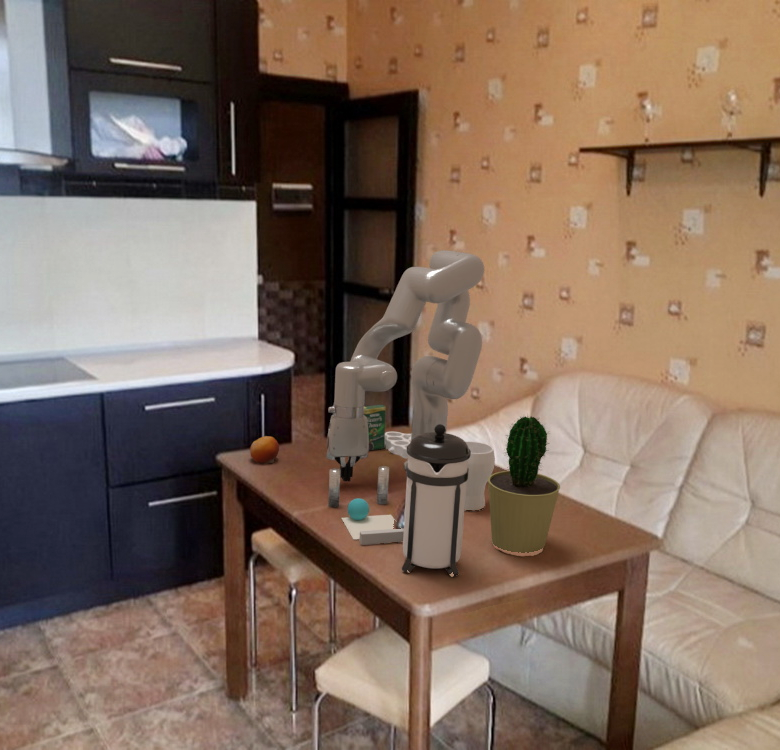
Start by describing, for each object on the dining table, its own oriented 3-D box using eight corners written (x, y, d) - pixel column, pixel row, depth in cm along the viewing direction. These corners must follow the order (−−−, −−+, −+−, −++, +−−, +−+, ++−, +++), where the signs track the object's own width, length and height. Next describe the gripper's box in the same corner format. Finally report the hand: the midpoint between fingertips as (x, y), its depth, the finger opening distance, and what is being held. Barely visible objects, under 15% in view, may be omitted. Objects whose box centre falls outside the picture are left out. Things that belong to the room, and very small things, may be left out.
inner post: (385, 500, 202) (387, 465, 200) (388, 504, 199) (390, 469, 197) (375, 501, 201) (377, 466, 199) (378, 505, 199) (380, 469, 197)
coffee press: (486, 569, 168) (497, 428, 161) (424, 587, 159) (434, 439, 152) (433, 538, 181) (442, 407, 175) (374, 553, 172) (381, 416, 166)
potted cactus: (517, 567, 169) (530, 428, 163) (468, 540, 181) (478, 409, 175) (568, 551, 178) (582, 419, 172) (518, 526, 190) (529, 401, 184)
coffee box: (360, 452, 238) (362, 408, 235) (355, 449, 240) (357, 406, 237) (384, 449, 241) (387, 406, 239) (380, 446, 244) (382, 404, 241)
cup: (461, 494, 209) (465, 438, 205) (498, 505, 203) (503, 447, 200) (439, 505, 200) (443, 447, 197) (477, 517, 194) (482, 457, 191)
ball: (370, 509, 186) (368, 525, 189) (369, 494, 190) (367, 509, 193) (348, 508, 185) (346, 524, 188) (348, 493, 189) (346, 508, 192)
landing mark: (390, 515, 193) (390, 514, 193) (406, 536, 182) (406, 535, 182) (341, 518, 189) (341, 517, 189) (353, 540, 178) (353, 539, 178)
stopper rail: (411, 538, 181) (412, 527, 180) (414, 541, 179) (414, 530, 179) (359, 542, 177) (359, 531, 177) (361, 545, 176) (361, 534, 175)
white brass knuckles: (442, 458, 238) (396, 462, 232) (415, 439, 254) (372, 443, 248) (443, 446, 237) (397, 451, 231) (416, 429, 253) (372, 432, 247)
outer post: (337, 503, 198) (339, 468, 196) (340, 507, 196) (341, 471, 194) (327, 503, 198) (328, 468, 196) (329, 508, 195) (330, 472, 193)
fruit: (283, 461, 222) (268, 436, 220) (258, 474, 223) (243, 449, 221) (287, 452, 230) (273, 428, 228) (263, 464, 231) (249, 440, 229)
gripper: (322, 416, 201) (320, 486, 205) (381, 414, 205) (377, 483, 209) (316, 407, 208) (314, 476, 212) (373, 406, 212) (370, 473, 216)
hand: (346, 479), depth 210 cm, fingers closed
